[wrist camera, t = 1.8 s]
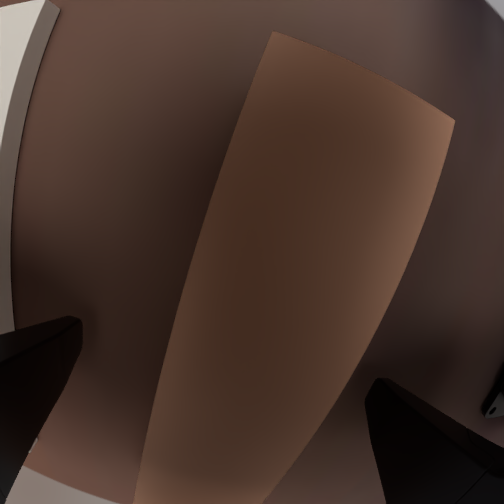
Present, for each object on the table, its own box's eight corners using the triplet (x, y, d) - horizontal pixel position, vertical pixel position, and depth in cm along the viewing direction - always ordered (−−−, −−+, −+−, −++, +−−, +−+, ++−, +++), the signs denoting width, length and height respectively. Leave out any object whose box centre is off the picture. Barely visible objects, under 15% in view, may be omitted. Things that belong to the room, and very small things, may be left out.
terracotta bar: (372, 133, 8) (455, 120, 5) (220, 478, 12) (219, 549, 8) (257, 86, 8) (272, 30, 4) (145, 460, 12) (128, 531, 8)
